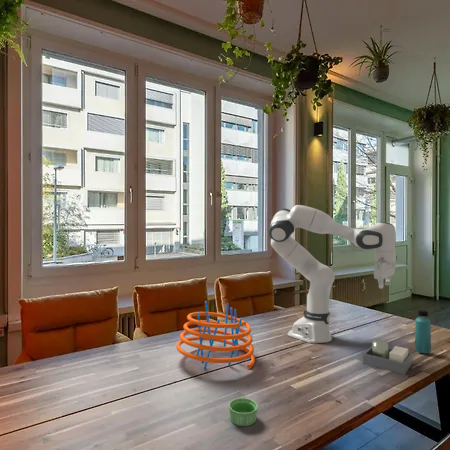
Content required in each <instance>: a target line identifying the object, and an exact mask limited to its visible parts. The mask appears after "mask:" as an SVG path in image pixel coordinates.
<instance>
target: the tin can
mask: <svg viewBox="0 0 450 450" xmlns="http://www.w3.org/2000/svg"><path fill="white" fill-rule="evenodd" d="M371 346H372V356H376V357H380V358H384V359H388V348H389V341H386V340H383V339H376V338H375V339H372V340H371Z"/></svg>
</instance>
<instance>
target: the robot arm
mask: <svg viewBox="0 0 450 450" xmlns="http://www.w3.org/2000/svg"><path fill="white" fill-rule="evenodd" d="M268 228H269V229H268V234H269V237H270V238H271V239H270V246H271V248H272V249H273V250H274V251H275V252H276V254H278V255H279V256H280V257H281V258H282V259H283V260H284V261H286V263H288V264H289V265H290V266H292V268H294V269H295V270H297V272H299V273H300V274H301V276H303V277H304V278H305V279H306V280H308V281H309V289H308V293H307V294H306V309H305V310H303V311H302V312H301V314H302V315H303V316H302V317H300V318H298V319H297V320H295V321H294V323H293V324H292V327H291V328H292V329H290V330H289V331H288V332H287V336H289V337H291V338H295V339H297V340H300V341H302V342H306V343H308V344H316V343H323V344H324V343H329V342H331V341H332V340H333V338H332V334H331V330H330V329H331V327H330V322H331V313H330V312H331V311H330V297H331V289H332V286H333V283H334V282H335V279H336V275H335V273H334V271H333V269H332V268H331V267H329V265H325V264H324V263H322V262H320V261H319V260H317V258H315V257H314V256H313V255H312V253H310V252H309V251H308V250H307V249H306V248H305V247H304V246H302V244H300V243H299V242H298V241H296V239H294V238H293V237H292V236H291V235H293V233H294V232H295V229H296V228H297V229H298V228H299V229H303V230H306V231H308V232H311V233H313V234H314V233H315V234H319V235H327V234H328V235H334V236H337V237H339V238H342V239H345V240H347V241H349V242H350V244H352V245H353V246H355V248H358V249H360V250H361V249H362V250H365V251H367V250H372V249H373V250H374V261H376V262H374V267H373V268H374V269H373V278H374V279H375V280H377V283H378V288H379V289H380V290H381V289H384V287H385V286H390V284H391V280H392V276H393V275H395V272H396V265H397V262H396V261H397V260H398V255H397V254H396V252H397V251H396V243H397V231H396V227H395V225H394V224H392V223H389V222H384V221H377V222H376V223H375V224H373V225H371V226H369V227H366V228H364V227H357V228H356V227H355V228H354V227H350V226H348V225H345V224H342V223H340V222H337V221H336V220H335V219H333V218H332V216H331V215H329V214H328V213H326V212H324V211H323V210H320V209H318V208H314V207H311V206H308V205H301V204H296V205H294V206H293V207H292V208H291V209H289V208H280V209H279V210H277V211H276V212H275V213H274V216H273V217H272V218H271V222H270V225H269V227H268ZM384 280H385V281H384Z"/></svg>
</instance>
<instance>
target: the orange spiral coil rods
mask: <svg viewBox="0 0 450 450" xmlns="http://www.w3.org/2000/svg"><path fill="white" fill-rule="evenodd" d="M204 304H205V305H204V306H205V311H194V312H190V313H188V315H186V319H187V320H188V321H187V322H185V323H184V324H183V327H182V328H183V331H182V332H181V333H180V334H179V339H180V340H179V341H177V343H176V346H175V347H176V348H175V349H176V350H177V352H179V353H180V354H181V355H183V356H185V357H186V358H189V359H192V360H196V361H200V362H201V363H202V364H204V367H203V369H204V370H206V369H207V365H208V363H211V364H212V363H213V364H228V365H227V366H229V367H230V366H231V363H238V362H242V361H245V360H247V359H249V358H250V359H251V360H250V362H249V363H248V364H247V366H246V368H247V369H248V370H250V369H251V368H253V366H254V365H255V363H256V356H255V354H254V352H255V350H254V349H255V348H254V345H253V344H252V343H253V339H254V338H253V335H251V334H250V333H251V332H252V327H251V325H250V323H248V322H247V321H245V320H243V318H242V317H240V318H238V317H237V309H236V308H234V309H233V307H230V315H229V305H230V303H229V302H226V310H225V314H224V313H220V312H211V311H208V308H209V307H208V302H207V301H206V300H205V301H204ZM233 311H234V312H233ZM233 313H234V316H233ZM201 316H202V317H203V316H205V317H206V320H205V319H203V320H202V319H200V317H201ZM193 317H197V319H195V318H193ZM210 317H216V318H217V320H210ZM220 318H222V319H225V322H222V321H220ZM228 320H230V323H228ZM193 325H197V326H198V328H189V327H190V326H193ZM201 326H202V327H201ZM242 327H245V328H246V329H247V330H246V329H244V328H242ZM222 329H224V330H222ZM228 329H231V332H229V331H227V330H228ZM234 331H235V332H234ZM211 333H213V334H211ZM187 335H192V336H190V337H185V336H187ZM245 337H247V338H248V339H246V338H245ZM192 341H199V343H197V342H192ZM204 341H207V342H208V341H209V345H206V344H203V342H204ZM239 341H240V342H241V341H242V343H243V344H241V343H239ZM214 342H216V343H217V342H218V343H222V344H223V346H213V345H214ZM182 344H186V345H187V346H190V347H192V348H195V349H197V351H196V354H193V353H190V352H188V351H187V350H184V349H183V348H182V347H181V346H182ZM226 344H227V345H230V346H226ZM204 350H205V351H208V353H207V355H206V356H204ZM240 350H242V351H244V352H245V354H244V355H240V356H239V354H240V353H239V351H240ZM235 351H236V354H235ZM211 352H230V356H229V357H228V358H227V357H225V358H220V357H219V358H218V357H217V358H215V357H210V356H211ZM234 355H236V356H235V357H233V356H234Z"/></svg>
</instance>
